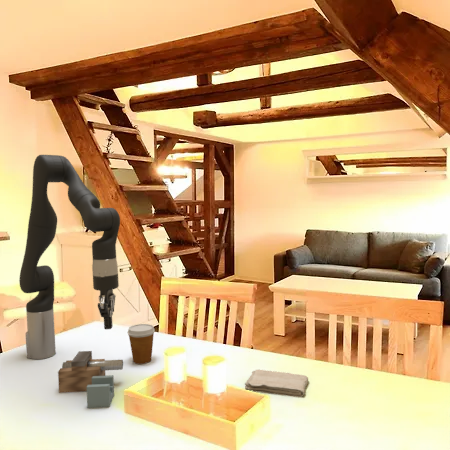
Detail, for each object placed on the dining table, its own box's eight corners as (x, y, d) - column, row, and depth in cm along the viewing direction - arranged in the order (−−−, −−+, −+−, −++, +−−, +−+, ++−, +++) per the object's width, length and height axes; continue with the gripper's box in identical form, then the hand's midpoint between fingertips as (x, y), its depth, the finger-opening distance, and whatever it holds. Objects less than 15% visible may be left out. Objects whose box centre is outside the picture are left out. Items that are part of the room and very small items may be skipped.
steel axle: (62, 373, 137) (61, 364, 137) (65, 370, 140) (64, 360, 140) (121, 371, 138) (121, 361, 138) (123, 367, 141) (122, 358, 141)
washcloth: (253, 376, 144) (253, 366, 144) (309, 382, 139) (309, 372, 138) (243, 392, 133) (243, 381, 133) (304, 399, 127) (304, 388, 127)
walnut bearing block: (59, 392, 134) (57, 362, 133) (67, 380, 143) (66, 352, 142) (99, 390, 135) (98, 360, 134) (105, 378, 143) (104, 350, 143)
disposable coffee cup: (160, 361, 157) (159, 328, 156) (134, 368, 152) (133, 333, 151) (148, 353, 165) (147, 321, 164) (124, 359, 159) (123, 326, 158)
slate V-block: (87, 408, 124) (86, 387, 123) (93, 395, 131) (92, 376, 131) (109, 407, 124) (108, 386, 124) (114, 394, 132) (113, 375, 131)
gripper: (98, 270, 143) (101, 323, 144) (86, 277, 130) (90, 335, 131) (122, 269, 143) (125, 322, 144) (112, 276, 130) (115, 334, 131)
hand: (108, 328), depth 138 cm, fingers closed
